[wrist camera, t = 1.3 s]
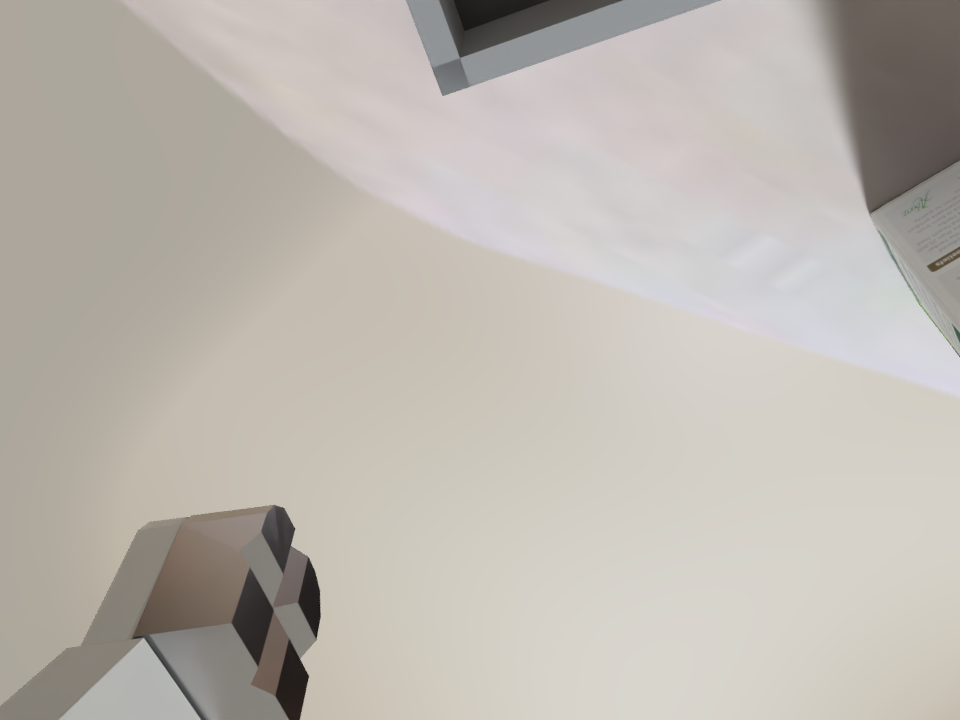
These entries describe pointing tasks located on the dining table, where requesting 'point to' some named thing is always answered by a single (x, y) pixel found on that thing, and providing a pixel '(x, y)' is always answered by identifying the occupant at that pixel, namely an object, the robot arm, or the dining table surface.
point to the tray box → (523, 32)
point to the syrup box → (928, 246)
